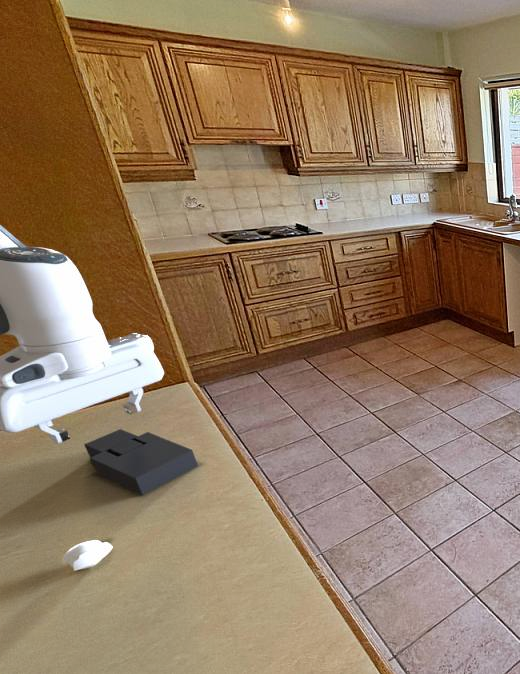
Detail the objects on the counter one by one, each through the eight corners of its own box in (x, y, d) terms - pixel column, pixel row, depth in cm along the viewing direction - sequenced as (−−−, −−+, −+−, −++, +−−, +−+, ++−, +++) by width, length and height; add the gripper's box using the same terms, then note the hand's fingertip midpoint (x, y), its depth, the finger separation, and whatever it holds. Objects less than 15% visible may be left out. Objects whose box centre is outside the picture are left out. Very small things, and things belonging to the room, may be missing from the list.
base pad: (97, 475, 78) (89, 457, 77) (154, 448, 85) (147, 431, 83) (142, 496, 74) (135, 478, 73) (198, 466, 81) (192, 449, 80)
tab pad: (91, 461, 81) (83, 444, 79) (127, 445, 85) (120, 428, 84) (121, 474, 78) (114, 457, 77) (157, 457, 83) (150, 441, 81)
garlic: (70, 584, 60) (119, 561, 64) (63, 564, 59) (113, 542, 62) (58, 563, 62) (106, 542, 66) (51, 545, 61) (100, 524, 65)
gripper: (136, 326, 84) (159, 393, 89) (-40, 373, 66) (2, 453, 72) (159, 333, 82) (181, 401, 87) (-17, 383, 64) (25, 465, 70)
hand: (99, 425), depth 79 cm, fingers open, 8 cm apart
